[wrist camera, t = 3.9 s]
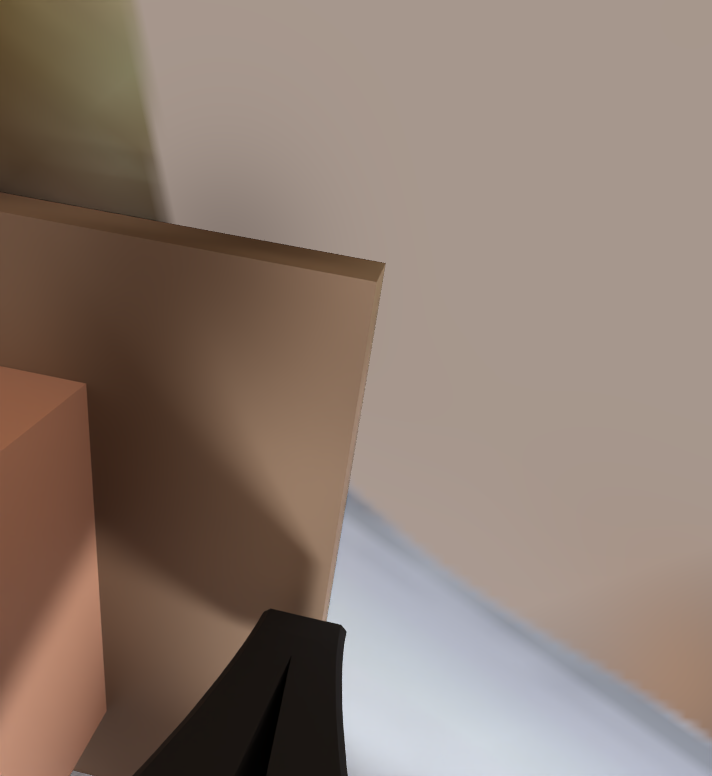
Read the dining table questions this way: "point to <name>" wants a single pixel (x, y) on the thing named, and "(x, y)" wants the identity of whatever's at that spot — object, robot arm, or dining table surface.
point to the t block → (47, 577)
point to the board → (192, 434)
